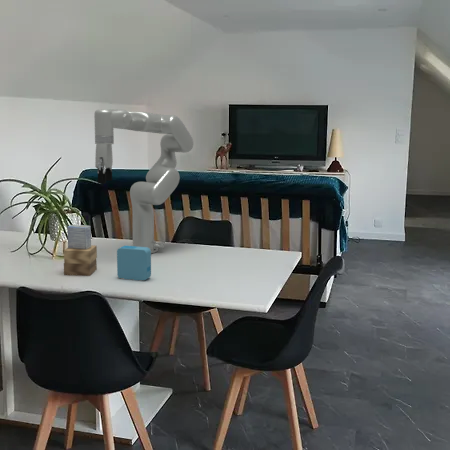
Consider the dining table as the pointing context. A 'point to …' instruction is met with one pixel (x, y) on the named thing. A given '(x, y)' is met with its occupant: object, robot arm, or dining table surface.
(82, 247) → the medicine box
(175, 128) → the robot arm
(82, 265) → the lower block
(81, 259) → the upper block
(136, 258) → the data package
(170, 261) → the dining table surface
